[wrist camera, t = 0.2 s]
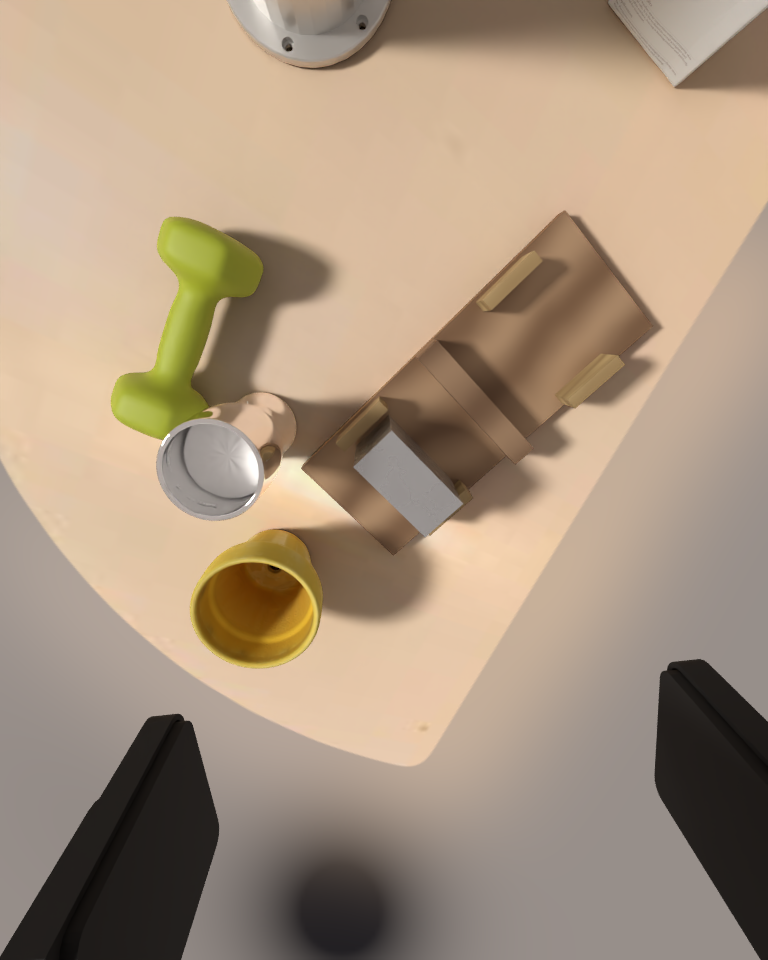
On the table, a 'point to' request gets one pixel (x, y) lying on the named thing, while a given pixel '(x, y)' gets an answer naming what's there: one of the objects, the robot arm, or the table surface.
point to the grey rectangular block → (406, 476)
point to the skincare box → (685, 29)
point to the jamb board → (493, 374)
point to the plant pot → (259, 601)
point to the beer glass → (225, 456)
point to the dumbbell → (185, 324)
